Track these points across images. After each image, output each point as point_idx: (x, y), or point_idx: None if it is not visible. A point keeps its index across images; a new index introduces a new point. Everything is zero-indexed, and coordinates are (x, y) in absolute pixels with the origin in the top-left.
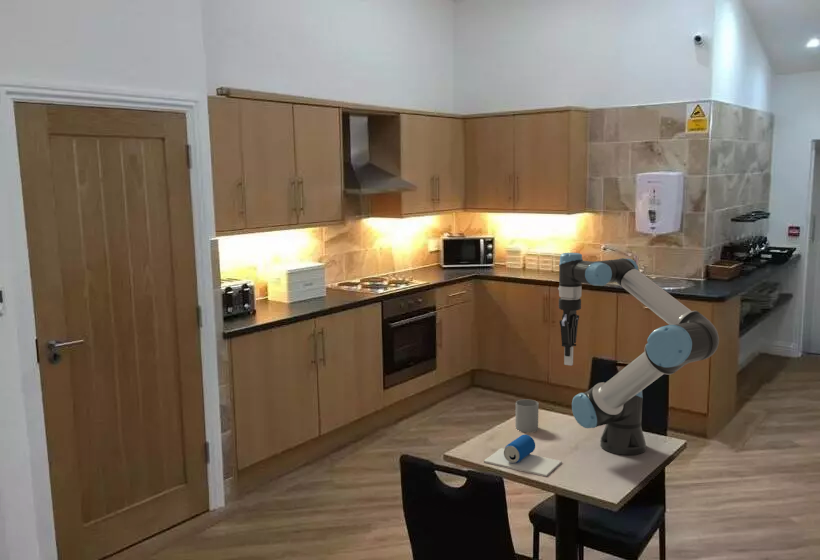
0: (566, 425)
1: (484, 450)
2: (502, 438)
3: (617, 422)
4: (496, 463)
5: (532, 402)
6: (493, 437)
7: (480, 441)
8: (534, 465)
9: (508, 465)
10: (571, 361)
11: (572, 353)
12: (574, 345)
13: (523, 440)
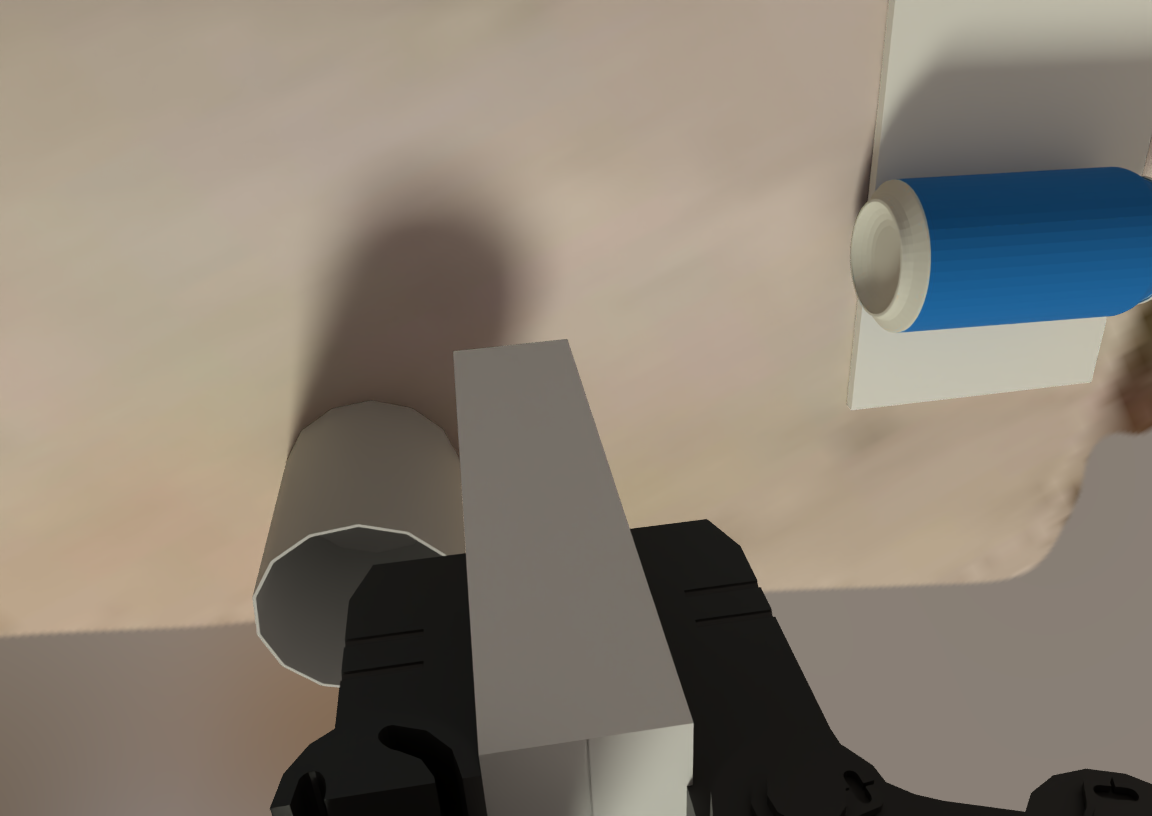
0: (70, 279)
1: (901, 471)
2: (654, 497)
3: None
4: None
5: (261, 601)
6: None
7: (774, 562)
8: (1066, 67)
9: None
10: (581, 396)
11: (555, 536)
12: (475, 766)
13: (1046, 244)
